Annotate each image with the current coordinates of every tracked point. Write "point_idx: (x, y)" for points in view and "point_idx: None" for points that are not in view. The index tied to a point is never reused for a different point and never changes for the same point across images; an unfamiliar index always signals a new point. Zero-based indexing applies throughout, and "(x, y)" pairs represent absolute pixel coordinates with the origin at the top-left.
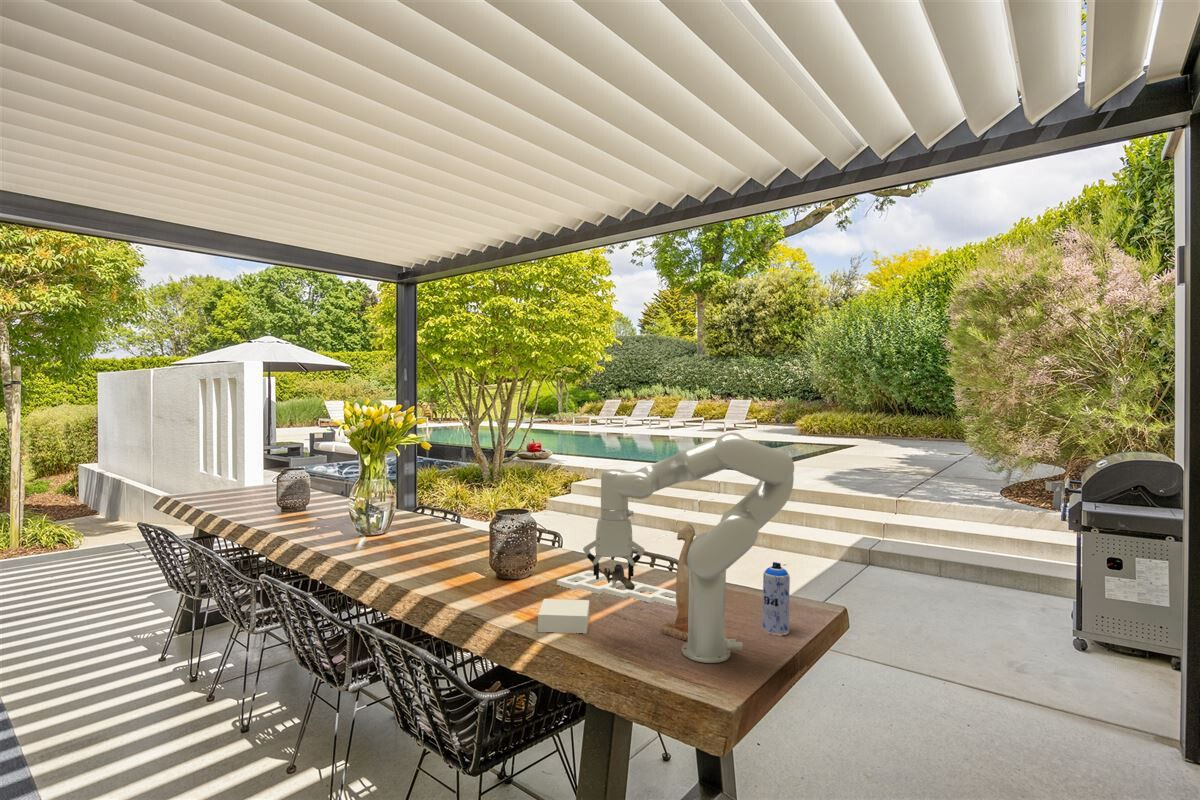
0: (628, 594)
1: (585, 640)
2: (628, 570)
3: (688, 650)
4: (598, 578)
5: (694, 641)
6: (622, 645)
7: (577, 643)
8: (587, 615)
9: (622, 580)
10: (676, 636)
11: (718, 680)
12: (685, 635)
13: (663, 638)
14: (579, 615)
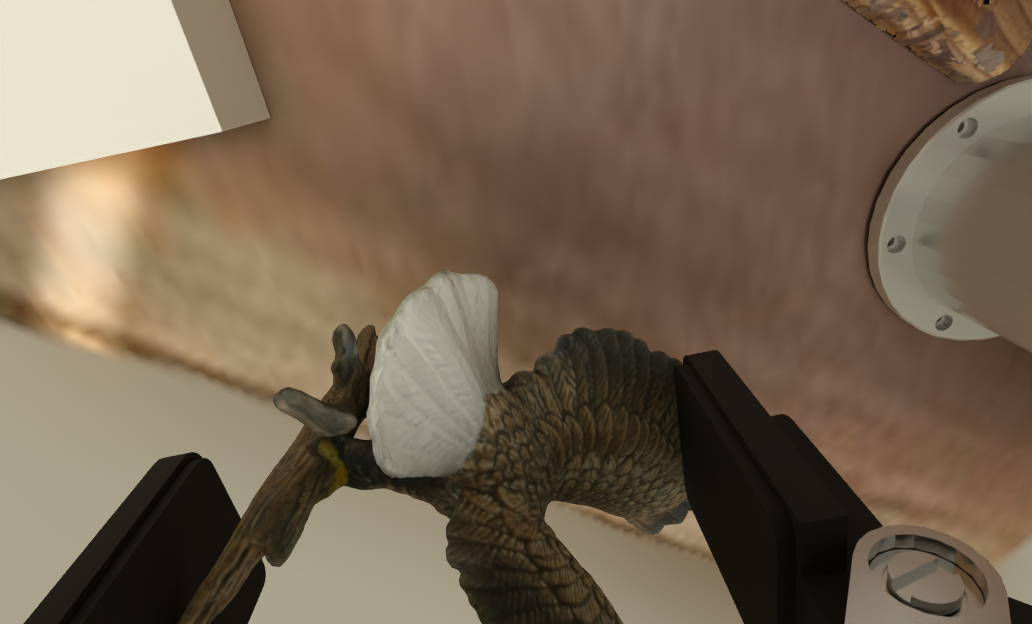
0: None
1: (306, 224)
2: (741, 615)
3: (911, 267)
4: (261, 582)
5: (985, 324)
6: (535, 233)
7: (280, 279)
8: (202, 58)
9: (601, 509)
10: (874, 16)
11: (969, 460)
12: (944, 47)
13: (779, 45)
14: (155, 133)
